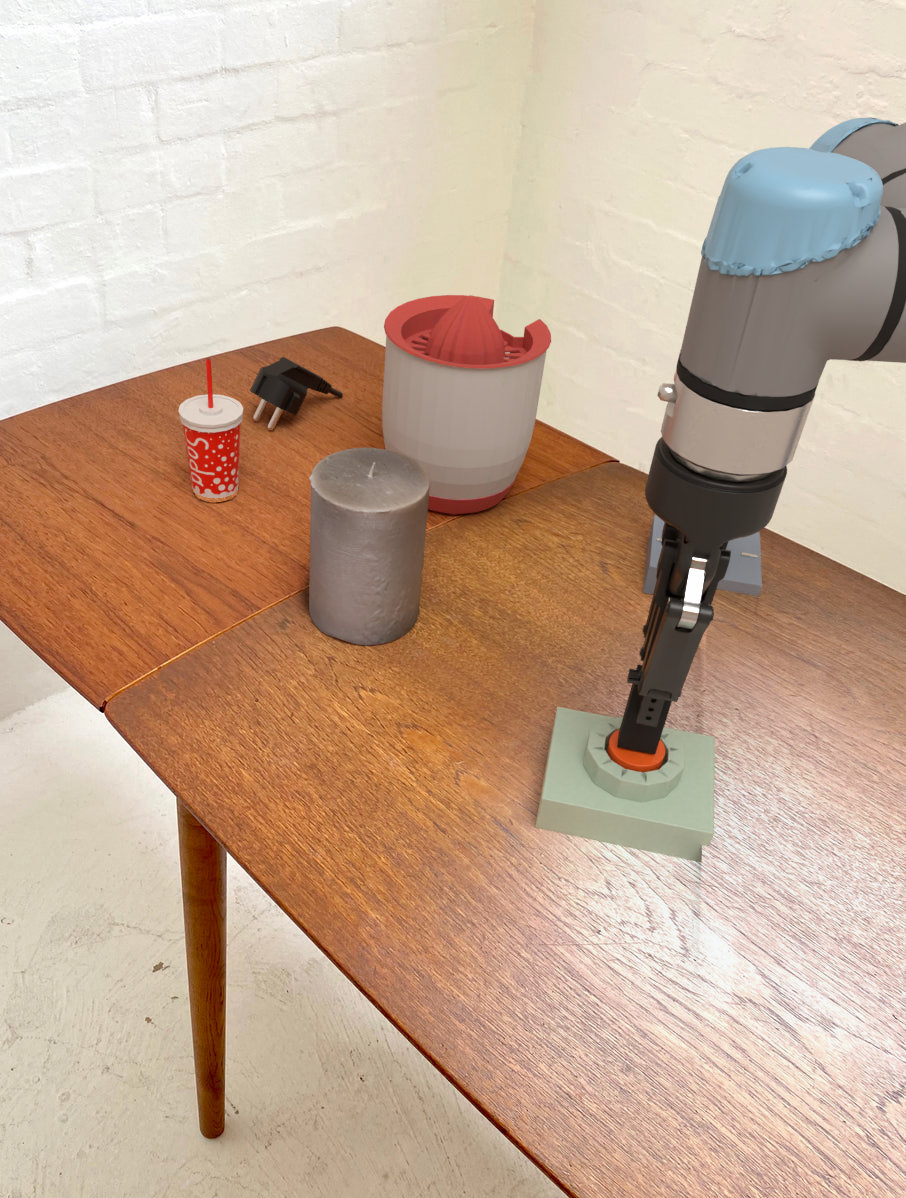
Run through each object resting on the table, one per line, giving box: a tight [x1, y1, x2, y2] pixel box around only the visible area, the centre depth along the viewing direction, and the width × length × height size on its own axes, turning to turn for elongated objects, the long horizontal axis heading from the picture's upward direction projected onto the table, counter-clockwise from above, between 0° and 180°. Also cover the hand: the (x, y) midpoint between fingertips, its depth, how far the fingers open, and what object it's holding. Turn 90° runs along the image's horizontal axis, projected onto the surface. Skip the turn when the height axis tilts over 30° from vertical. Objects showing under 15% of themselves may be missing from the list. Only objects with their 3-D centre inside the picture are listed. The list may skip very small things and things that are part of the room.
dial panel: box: [642, 514, 763, 597], centre depth 104 cm, size 10×9×3 cm
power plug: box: [249, 356, 344, 431], centre depth 123 cm, size 6×8×12 cm
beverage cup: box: [178, 357, 244, 499], centre depth 107 cm, size 6×6×14 cm
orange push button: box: [606, 729, 665, 773], centre depth 80 cm, size 4×4×2 cm
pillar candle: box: [308, 447, 430, 646], centre depth 93 cm, size 10×10×15 cm
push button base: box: [534, 706, 716, 863], centre depth 81 cm, size 12×10×5 cm
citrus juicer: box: [381, 294, 552, 516], centre depth 108 cm, size 16×17×20 cm
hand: (636, 743), depth 79 cm, fingers closed
